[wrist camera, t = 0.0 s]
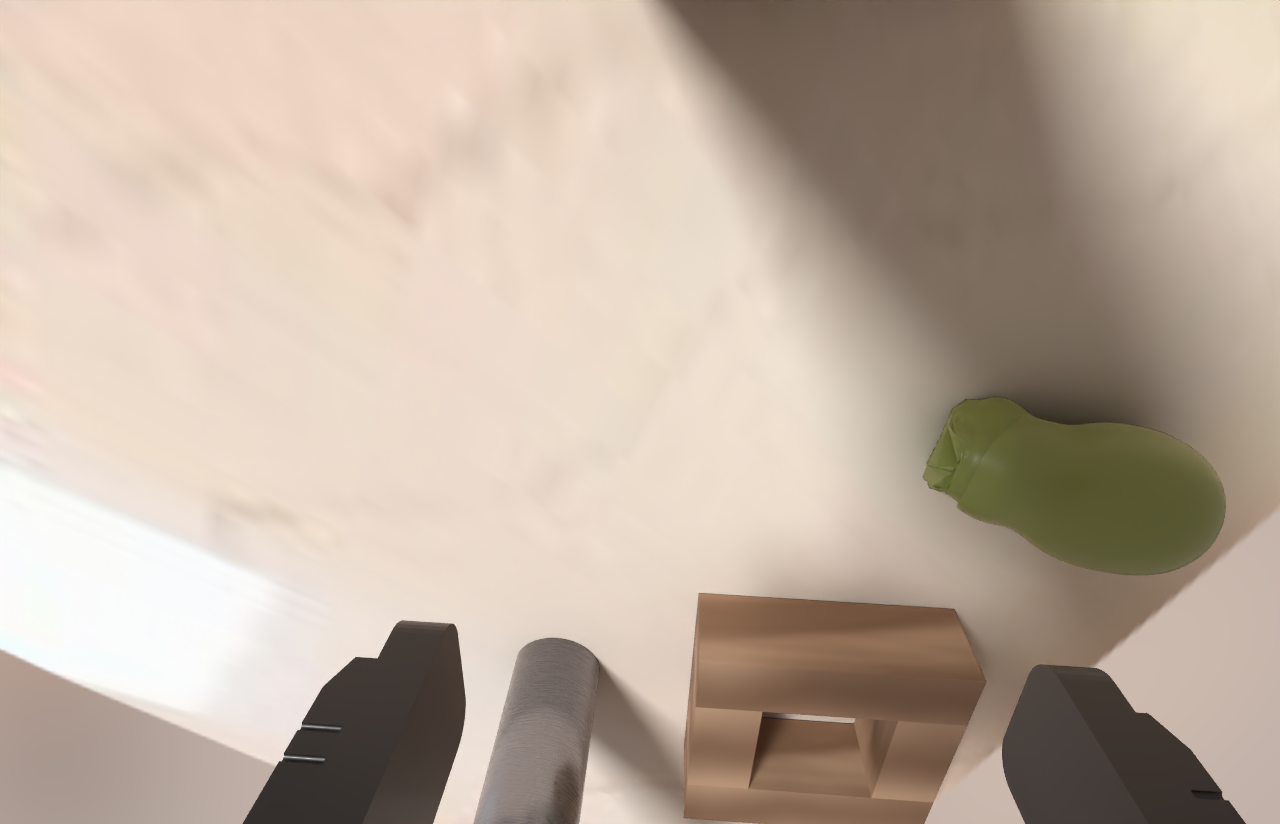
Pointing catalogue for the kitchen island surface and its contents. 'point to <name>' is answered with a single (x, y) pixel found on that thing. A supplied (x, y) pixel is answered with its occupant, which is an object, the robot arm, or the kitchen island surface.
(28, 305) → the kitchen island surface
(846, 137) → the kitchen island surface
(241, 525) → the kitchen island surface
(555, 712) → the pin
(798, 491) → the kitchen island surface
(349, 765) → the robot arm
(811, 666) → the socket block
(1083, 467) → the green rounded lump
